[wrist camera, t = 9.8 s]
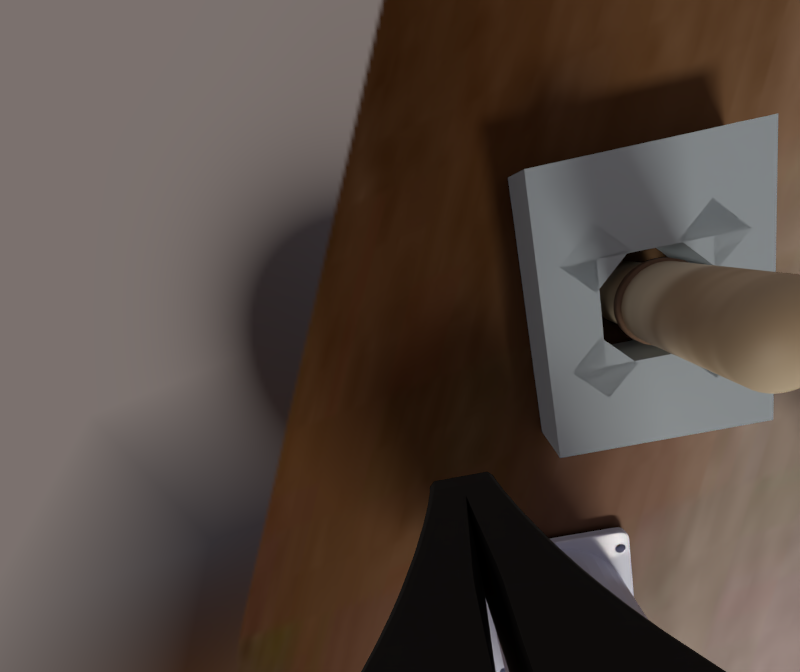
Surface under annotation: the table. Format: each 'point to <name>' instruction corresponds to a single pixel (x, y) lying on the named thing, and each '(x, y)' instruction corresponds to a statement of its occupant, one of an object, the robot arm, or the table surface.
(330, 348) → the table surface
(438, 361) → the table surface
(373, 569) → the table surface
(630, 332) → the peg
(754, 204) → the board
